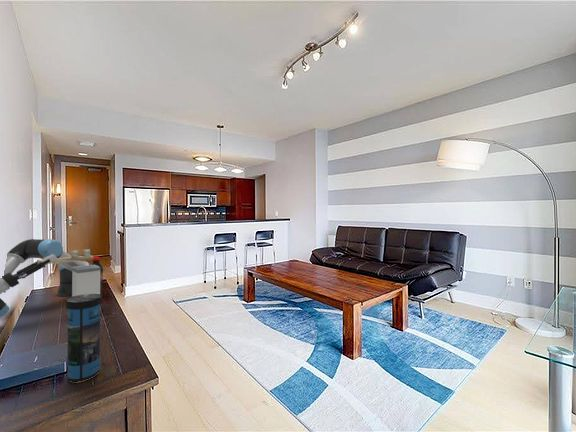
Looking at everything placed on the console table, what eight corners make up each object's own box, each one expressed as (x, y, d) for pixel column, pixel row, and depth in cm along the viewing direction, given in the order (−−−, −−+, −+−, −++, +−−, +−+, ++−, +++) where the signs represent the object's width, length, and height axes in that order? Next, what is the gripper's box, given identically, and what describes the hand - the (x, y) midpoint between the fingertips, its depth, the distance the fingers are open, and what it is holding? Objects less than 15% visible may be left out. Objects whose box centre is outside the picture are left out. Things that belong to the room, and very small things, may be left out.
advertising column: (108, 369, 114) (108, 294, 114) (84, 386, 103) (84, 303, 103) (84, 366, 116) (84, 292, 116) (57, 382, 105) (57, 301, 105)
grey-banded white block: (72, 312, 177) (72, 267, 176) (94, 307, 186) (94, 264, 185) (76, 317, 169) (77, 269, 168) (100, 312, 178) (100, 267, 177)
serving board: (37, 263, 161) (37, 253, 161) (91, 258, 180) (91, 249, 180) (38, 264, 158) (38, 253, 158) (93, 259, 177) (93, 249, 177)
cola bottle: (105, 297, 208) (106, 256, 207) (96, 300, 199) (97, 257, 199) (95, 296, 209) (95, 255, 208) (85, 300, 200) (85, 257, 200)
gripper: (9, 285, 157) (56, 259, 172) (12, 291, 146) (62, 263, 161) (-1, 274, 154) (48, 249, 169) (2, 279, 143) (54, 252, 158)
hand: (55, 256), depth 165 cm, fingers closed on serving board, 4 cm apart
